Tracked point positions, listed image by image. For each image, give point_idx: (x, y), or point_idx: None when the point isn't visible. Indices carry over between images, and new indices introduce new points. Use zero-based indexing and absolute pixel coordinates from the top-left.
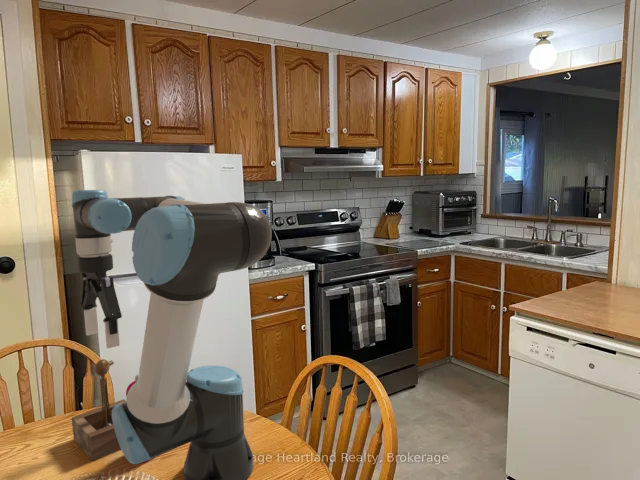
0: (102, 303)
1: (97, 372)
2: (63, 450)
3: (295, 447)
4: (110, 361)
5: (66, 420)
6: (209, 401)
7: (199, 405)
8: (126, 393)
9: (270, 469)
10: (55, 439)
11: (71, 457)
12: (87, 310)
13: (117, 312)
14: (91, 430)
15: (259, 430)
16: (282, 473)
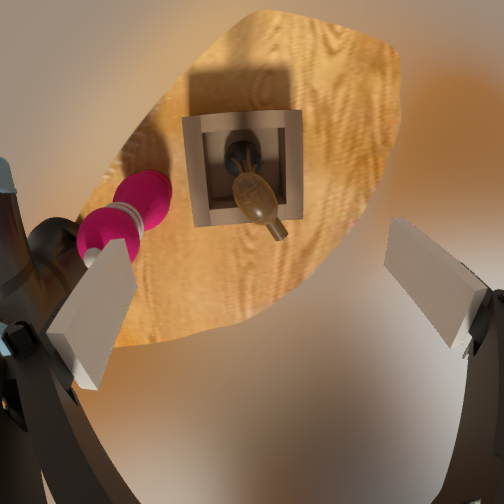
0: (38, 459)
1: (238, 176)
2: (266, 86)
3: None
4: (277, 233)
5: (373, 126)
6: None
7: None
8: (102, 211)
9: None
10: (317, 88)
11: (230, 91)
12: (468, 304)
13: (19, 413)
14: (209, 125)
15: (123, 332)
16: None
